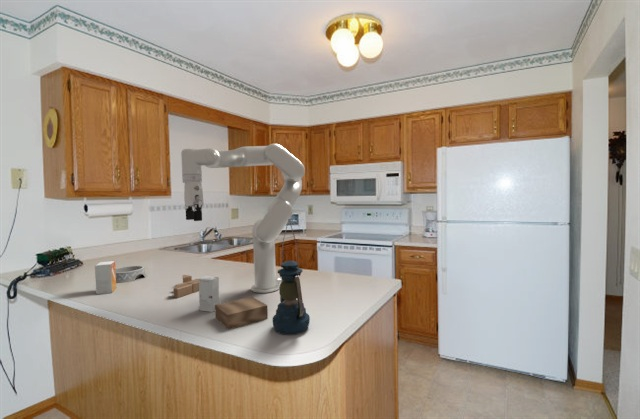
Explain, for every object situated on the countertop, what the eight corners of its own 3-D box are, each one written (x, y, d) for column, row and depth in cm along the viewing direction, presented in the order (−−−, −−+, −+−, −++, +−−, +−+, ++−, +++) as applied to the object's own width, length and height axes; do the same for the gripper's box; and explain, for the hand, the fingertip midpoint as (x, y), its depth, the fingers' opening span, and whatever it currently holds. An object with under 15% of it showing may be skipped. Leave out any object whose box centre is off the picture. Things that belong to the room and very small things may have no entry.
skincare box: (198, 310, 121) (197, 278, 121) (206, 306, 126) (205, 275, 125) (212, 312, 120) (211, 279, 119) (220, 308, 124) (219, 276, 123)
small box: (112, 292, 146) (111, 264, 146) (95, 294, 144) (94, 265, 143) (116, 288, 154) (115, 260, 153) (101, 289, 152) (99, 261, 151)
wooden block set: (210, 276, 152) (176, 286, 136) (210, 288, 152) (177, 299, 136) (185, 272, 160) (151, 281, 144) (186, 283, 160) (151, 294, 144)
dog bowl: (98, 282, 166) (98, 272, 165) (129, 273, 183) (128, 264, 183) (125, 284, 161) (124, 273, 160) (153, 275, 178) (153, 265, 178)
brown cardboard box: (252, 309, 122) (252, 296, 122) (267, 319, 113) (267, 305, 112) (215, 319, 114) (215, 305, 114) (228, 330, 104) (227, 314, 104)
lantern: (265, 324, 107) (262, 218, 105) (297, 316, 113) (294, 216, 112) (284, 340, 95) (280, 221, 93) (318, 331, 101) (316, 218, 100)
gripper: (208, 178, 131) (210, 220, 132) (194, 180, 144) (195, 218, 145) (189, 178, 126) (191, 222, 127) (176, 179, 140) (178, 219, 141)
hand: (193, 220), depth 136 cm, fingers open, 9 cm apart
